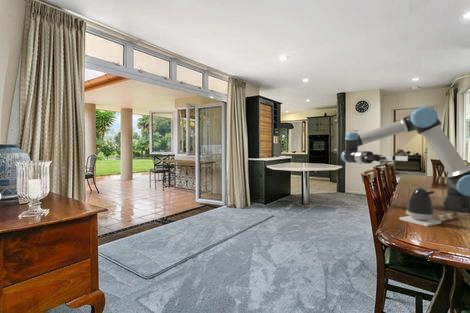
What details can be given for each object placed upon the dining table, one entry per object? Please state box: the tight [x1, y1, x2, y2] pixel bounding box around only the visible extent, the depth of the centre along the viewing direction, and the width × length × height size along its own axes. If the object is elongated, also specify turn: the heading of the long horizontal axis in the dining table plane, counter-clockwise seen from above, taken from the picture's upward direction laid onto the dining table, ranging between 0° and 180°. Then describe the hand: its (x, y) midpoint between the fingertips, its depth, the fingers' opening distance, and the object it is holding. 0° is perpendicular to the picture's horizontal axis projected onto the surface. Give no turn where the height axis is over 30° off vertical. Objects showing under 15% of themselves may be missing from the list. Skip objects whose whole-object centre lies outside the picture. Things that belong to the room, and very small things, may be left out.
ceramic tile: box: [399, 215, 442, 227], centre depth 119 cm, size 12×12×1 cm
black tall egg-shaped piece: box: [406, 187, 435, 221], centre depth 119 cm, size 10×10×15 cm
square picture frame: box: [405, 209, 454, 222], centre depth 129 cm, size 15×15×2 cm
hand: (400, 158), depth 133 cm, fingers open, 13 cm apart
